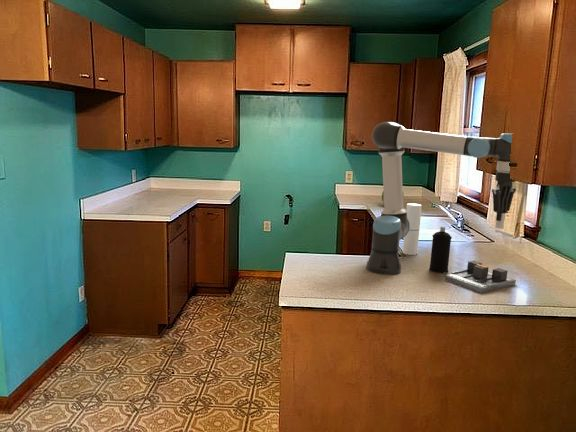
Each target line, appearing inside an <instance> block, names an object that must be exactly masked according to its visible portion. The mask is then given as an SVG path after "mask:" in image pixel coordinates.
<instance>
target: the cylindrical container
mask: <svg viewBox="0 0 576 432" xmlns="http://www.w3.org/2000/svg"><path fill="white" fill-rule="evenodd" d="M405 210H406V211H407V219H408V221H409V224H410V228H409V231H408V233H407V235H406V236H405V237H404V238H403V246H402V254H404V255H407V254H408V256H416V254H417V255H418V251H419V250H418V249H419V237H420V226H421V218H422V217H421V216H422V204H419V203H414V202H413V203H409V202H408V203H406V209H405Z"/></svg>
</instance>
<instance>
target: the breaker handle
mask: <svg viewBox="0 0 576 432" xmlns="http://www.w3.org/2000/svg"><path fill="white" fill-rule="evenodd" d="M488 272H489V266H486V265H483V264H482V265H479V264H477V265H476V266H474V271H473V276H474V277H477V278H480V279H484V278H487V276H488Z"/></svg>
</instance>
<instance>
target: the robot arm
mask: <svg viewBox="0 0 576 432" xmlns="http://www.w3.org/2000/svg"><path fill="white" fill-rule="evenodd" d="M512 134H513V133H501V134H500V136H499V137H497V138H495V137H479V136H469V135H468V136H467V135H459V134H451V133H450V134H449V133H441V132H434V131H432V132H431V131H426V130H424V131H423V130H416V129H415V130H414V129H409V128H408V129H407V128H405V127H404V126H403V125H402V124H400V123H398V122H395V121H383V122H380V123H378V124H376V126H374V128H373V130H372V133H371V139H372V141H373V144H374V145H375V146H376V147H377V148H378V155H380V156H381V158H382V183H383V187H382V188H383V191H384V203H383V207H384V208H383V209H382V210H381V213H380V214H381V215H380V216H379V215H378V216H377V217H375V218H374V220H373V224H372V237H371V238H372V239H371V250H370V251H371V252H370V254H369V257H368V260H367V261H366V267H365V268H366V270H367V271H369V272H372V273H374V274H380V275H397V274H400V273H401V272H402V264H401V261H400V255H399V250H400V249H399V248H400V241H401V240H402V239H404V237H405V236H406V235H407V233H408V231H409V228H410V224H409V221H408V219H407V211H406V209H405V207H404V191H403V167H402V166H403V163H402V162H403V161H402V155H404V153H405V151H406V150H405V148H406V149H414V150H421V151H428V152H429V151H430V152H437V153H443V154H453V155H461V156H465V157H466V156H467V157H473V158H476V159H477V158H478V159H480V158H484V157H495V158H496V157H497V163H496V169H495V170H496V172H495V179H494V180H495V181H496V182H497V184H496V187H495V188H492V189H491V192H492V203H493V204H492V205H493V209H492V210H493V212H494V213H496V216H495V226H494V227H495V229H500V230H503V229H504V225H505V218H506V214H509V211H510V209H511V206H512V202H513V198H514V196H515V195H514V194H515V192H516V190H517V189H516V188H515V187H513V183H515V182H516V179H515V180H512V179H510V173H509V172H510V166H509V163H510V154H511V144H512V137H513V136H512ZM503 161H506V162H503Z"/></svg>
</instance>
